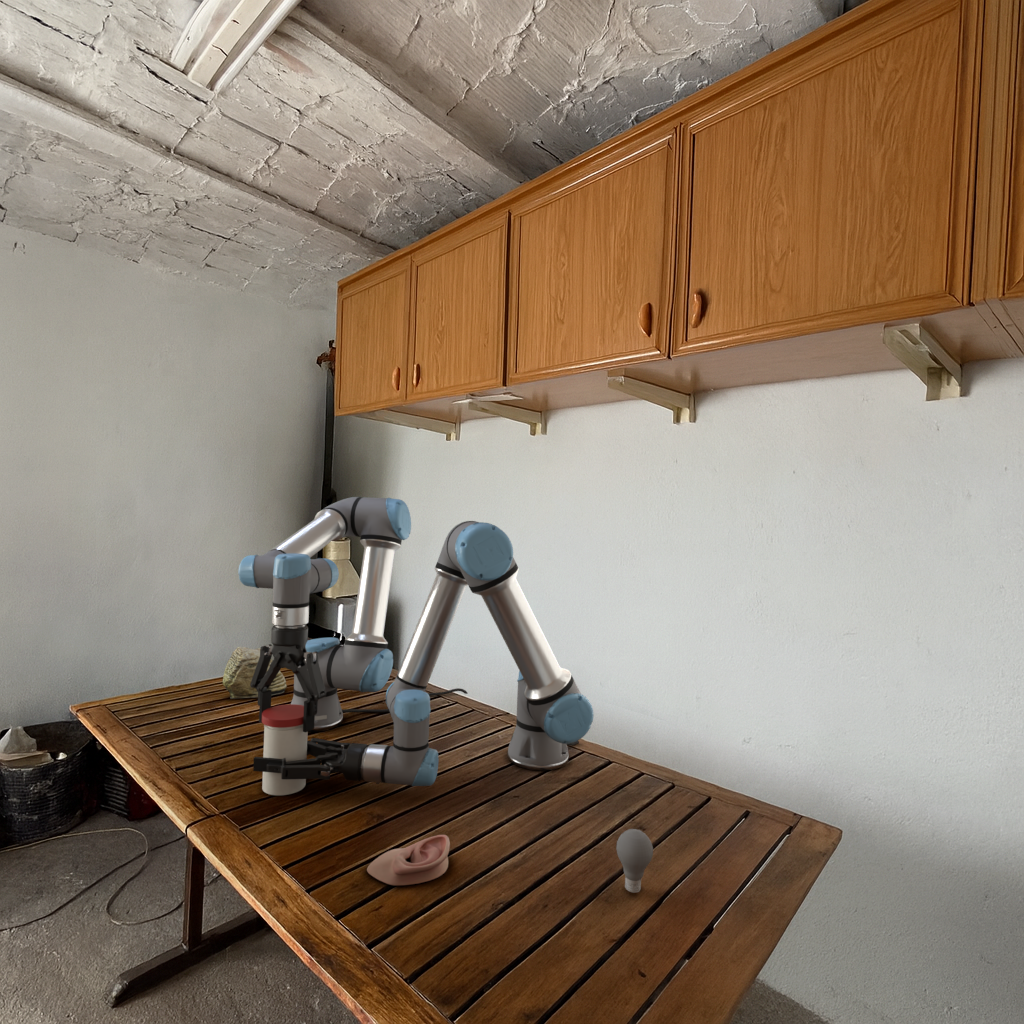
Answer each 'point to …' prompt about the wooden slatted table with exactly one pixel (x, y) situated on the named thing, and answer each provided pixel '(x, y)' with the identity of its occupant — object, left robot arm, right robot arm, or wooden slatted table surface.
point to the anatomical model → (412, 862)
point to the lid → (283, 716)
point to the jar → (284, 746)
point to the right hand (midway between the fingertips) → (265, 754)
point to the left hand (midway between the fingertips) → (286, 725)
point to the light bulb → (634, 857)
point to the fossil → (247, 674)
